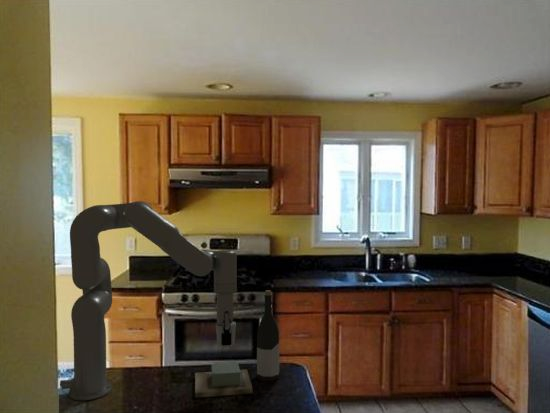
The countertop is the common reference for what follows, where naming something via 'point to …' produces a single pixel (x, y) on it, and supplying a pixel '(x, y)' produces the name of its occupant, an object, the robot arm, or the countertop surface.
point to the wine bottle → (268, 344)
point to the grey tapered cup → (219, 331)
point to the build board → (207, 390)
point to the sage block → (225, 374)
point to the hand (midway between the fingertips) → (225, 341)
